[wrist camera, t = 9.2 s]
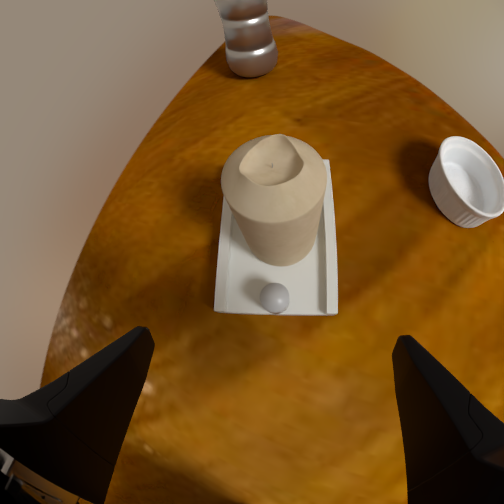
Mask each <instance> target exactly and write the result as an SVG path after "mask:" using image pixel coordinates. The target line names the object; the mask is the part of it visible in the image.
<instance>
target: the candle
mask: <svg viewBox="0 0 504 504" xmlns="http://www.w3.org/2000/svg"><path fill="white" fill-rule="evenodd" d="M326 185H327V171H326V167H325V164H324V162H323V160H322V158H321V157H320V155H319V154H318V153H317V152H316V151H315V150H314V149H313V148H312V147H311V146H309V145H308V144H306V143H305V142H303V141H301V140H299V139H296V138H293V137H289V136H285V135H283V134H275V135H268V136H262V137H259V138H255V139H253V140H250V141H248V142H246V143H245V144H243V145H242V146H240V147H239V148H238V149H236V150H235V151H234V152H233V153H232V154H231V155H230V157H229V158H228V160H227V161H226V163H225V165H224V168H223V170H222V175H221V188H222V192H223V195H224V197H225V199H226V201H227V203H228V205H229V207H230V209H231V211H232V213H233V215H234V217H235V219H236V222H237V224H238V226H239V228H240V230H241V232H242V234H243V236H244V238H245V240H246V242H247V244H248V246H249V248H250V249H251V251H252V252H253V254H254V255H255V256H256V257H257V258H258V259H260V260H261V261H263V262H265V263H267V264H269V265H273V266H280V267H281V266H289V265H293V264H295V263H297V262H299V261H301V260H302V259H303V258H305V257H306V256H307V255H308V253H309V252H310V251H311V249H312V247H313V245H314V242H315V239H316V235H317V231H318V226H319V221H320V216H321V211H322V206H323V201H324V196H325V191H326Z"/></svg>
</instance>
